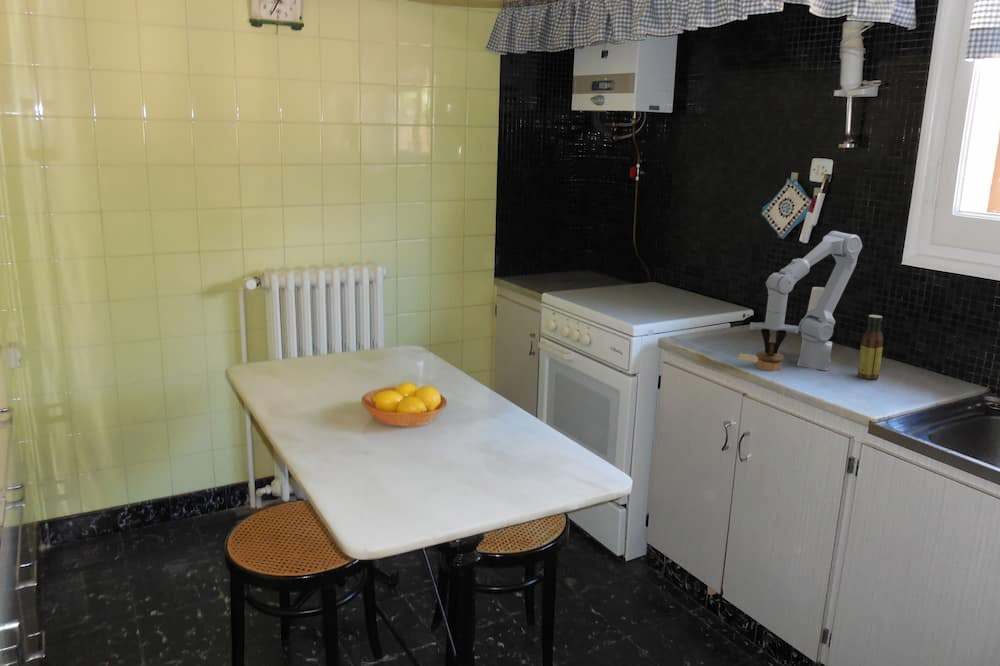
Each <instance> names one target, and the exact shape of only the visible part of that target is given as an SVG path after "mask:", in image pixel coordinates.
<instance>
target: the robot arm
mask: <svg viewBox="0 0 1000 666" xmlns="http://www.w3.org/2000/svg"><path fill="white" fill-rule="evenodd" d="M862 249H863V244H862V240H861V238H860V236H858V235H857V234H852V233H846V232H841V231H838V230H832V231H830V232H828V233H827V234H826V235H825V236H823V237H822V240H821V242H819V244H817V245H816V246H815V247H814V248H813V249H812V250H810V251H809V252H808V253H807V254H806V255H805V256H804V257H803V258H800V257H799V258H793V259H792V260H791V262H790V263H789V264H787V265H786V266H785V267H783V268H781V269H780V271H779V272H773V273H772V274H770V275H769V276H768V278H767V280H766V281H765V285H766V288H767V294H768V296H767V304H766V313H765V321H764V322H762V321H760V322H755V321H754V322H752V321H751V322H750V323H749V330H751V331H752V330H760V332H761V335H762V339H763V343H764V351H765V353H768V345H769V342H770V337H771V331H773V332H775V342H774V343H776V344H775V351H774V354H777V353H778V351H779V349H780V346H781V344H782V343H783V341H784V339H786V336H787V333H794V334H799V332H800V333H801V337H802V338H801V339H802V340H801V346H800V353H799V358H798V361H797V362H796V363H797V364H796V366H798V367H803V368H804V367H805V368H810V369H816V370H820V371H829V367H830V365H831V361H832V358H831V355H832V347H833V341H830V339H831V337H832V336H833V333H834V327H835V324H836V320H835V318H834V317H833V316H834V315H833V313H834V311H835V309H836V306H837V305H838V303H839V301H840V299H841V297H842V295H843V292H844V290H845V288H846V286H847V284H848V282H849V280H850V278H851V277H852V274H853V272H854V270H855V268H856V266H857V261H858V258H859V257H858V256H859V254H860V252H861V250H862ZM829 255H832V257H833V258H834V260H835V265H834V268H833V269H832V272H831V274H830V277H829V278H828V281H827V283H826V285H825V287H823V288H824V291H823V293H822V295H821V297H820V299H819V301H818V303H817V305H816V307H815V308H814V309H812V310H810V311H808V310H807V311H808V312H807V311H806V314H805V315H804V317H803V318H802V319H800V322H799V323H798V325H791V324H785V320H786V319H785V318H786V312H787V305H788V298H789V293H790V292H792V291H793V290H794V286H795V284H797V282H798V281H799V280H801V279H802V278H804V277H805V276H806V275H808V273H810V268H811V267H812V266H813V265H815V264H817V263H819V261H821V260H823V259H825V257H827V256H829ZM818 319H821V320H822V321H821V320H818Z"/></svg>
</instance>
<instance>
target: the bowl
mask: <svg viewBox="0 0 1000 666" xmlns="http://www.w3.org/2000/svg"><path fill="white" fill-rule="evenodd" d="M782 362H783V360H782V361H766V360H762V359H760V358H758V362H756V363H757V365H756V368H758V369H760V370H763V371H770V372H777V371H781V369H782Z"/></svg>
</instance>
